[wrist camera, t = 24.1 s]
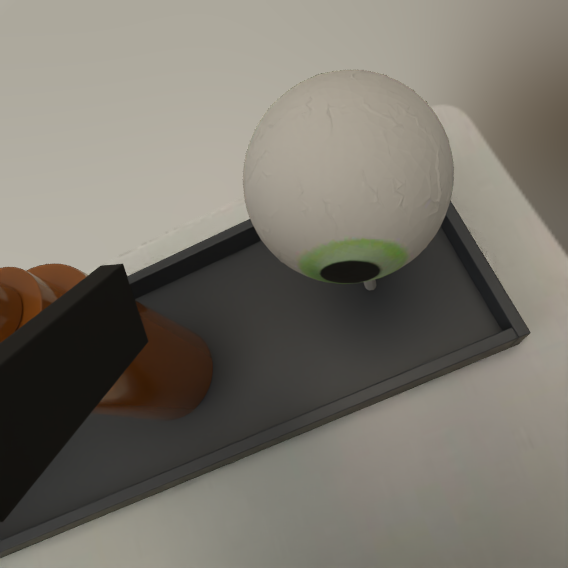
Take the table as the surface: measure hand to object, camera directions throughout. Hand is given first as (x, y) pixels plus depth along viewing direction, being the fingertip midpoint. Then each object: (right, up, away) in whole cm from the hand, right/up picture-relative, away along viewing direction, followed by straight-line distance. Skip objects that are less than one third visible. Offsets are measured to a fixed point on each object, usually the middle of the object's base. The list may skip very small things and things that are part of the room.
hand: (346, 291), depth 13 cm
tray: (-8, -5, +16) cm, 19 cm away
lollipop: (+3, 0, +14) cm, 15 cm away
